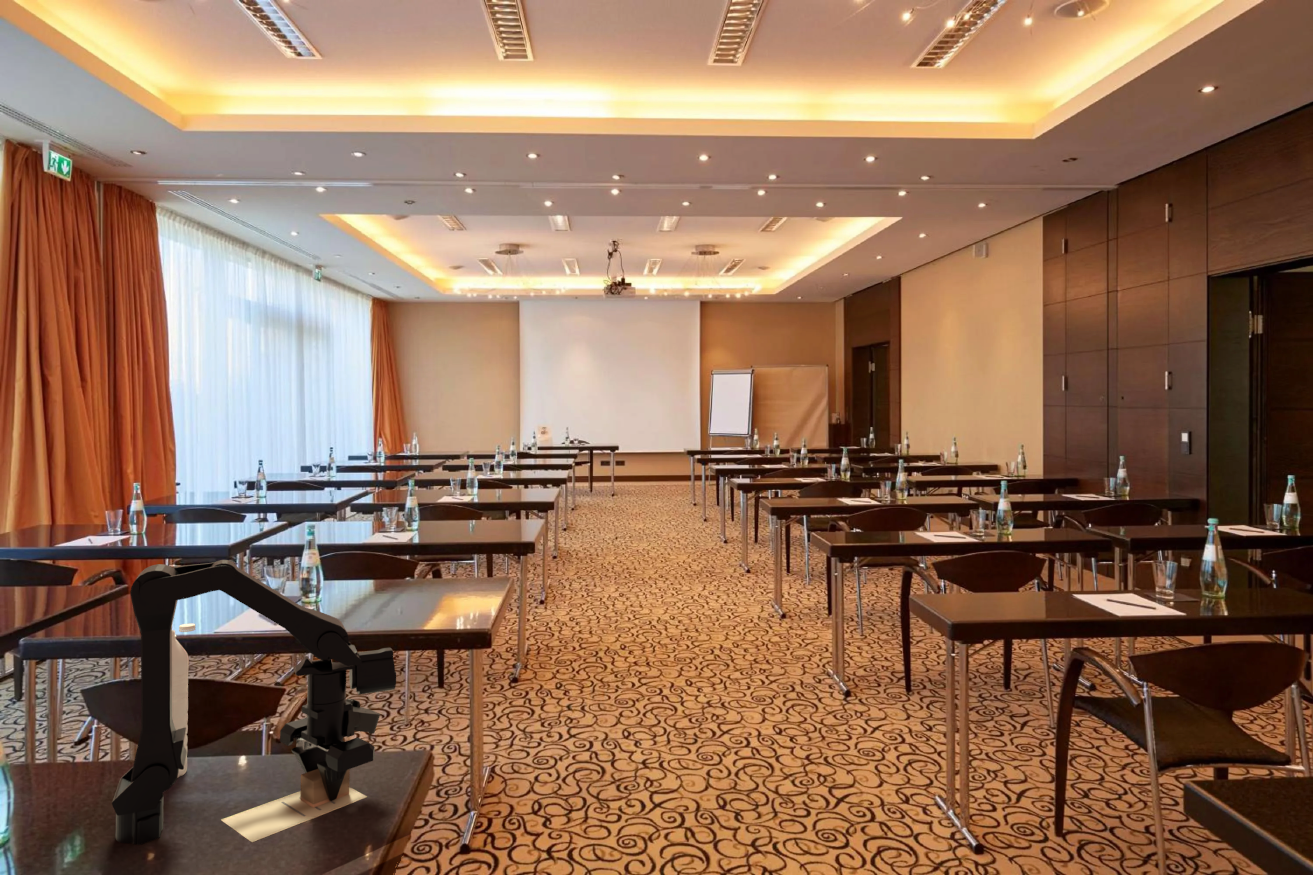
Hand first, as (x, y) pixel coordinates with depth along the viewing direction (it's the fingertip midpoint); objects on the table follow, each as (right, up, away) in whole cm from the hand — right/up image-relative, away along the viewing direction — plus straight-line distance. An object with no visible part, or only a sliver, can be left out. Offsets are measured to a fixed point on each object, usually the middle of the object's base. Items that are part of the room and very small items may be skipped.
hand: (325, 795), depth 124 cm
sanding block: (0, 0, 0) cm, 0 cm away
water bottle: (-32, -1, +11) cm, 34 cm away
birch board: (-3, -2, -4) cm, 5 cm away
